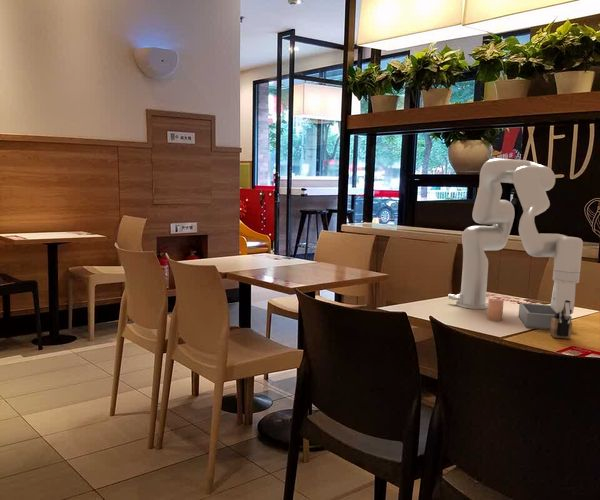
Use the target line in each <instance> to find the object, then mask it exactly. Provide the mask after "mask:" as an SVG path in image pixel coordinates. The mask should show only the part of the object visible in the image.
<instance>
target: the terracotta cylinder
mask: <svg viewBox="0 0 600 500" xmlns="http://www.w3.org/2000/svg"><path fill="white" fill-rule="evenodd" d="M504 302H505V301H504V300H503V299H499V298H488V302H487V303H488V309H487V317H486V318H487V320H488V321H491V322H502V321H503V315H504V312H503V311H504Z"/></svg>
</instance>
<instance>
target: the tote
mask: <svg viewBox="0 0 600 500" xmlns="http://www.w3.org/2000/svg"><path fill="white" fill-rule="evenodd" d="M554 315H555V311H554V310H553V309H552V308H551V304H550V305H549V304H538V303H537V304H536V303H525V302H520V303H519V305H518V318H519V319H520V321H521V322H522V324H523V325H524V326H525V328H526V329H537V330H546V331H550V328H551V318H554ZM570 322H571V323H572V315H570Z"/></svg>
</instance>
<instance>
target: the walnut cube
mask: <svg viewBox="0 0 600 500" xmlns="http://www.w3.org/2000/svg"><path fill="white" fill-rule="evenodd" d="M558 323H559V319H558V318H551V328H550V330H549V331H550V332H549V334H550V335H551V336H552V338H557V339H567V340H568V339H569V340H571V337H572V327H573V322H572V321H571V322H570V323H569V333H568V336H558V335H557V327H558Z"/></svg>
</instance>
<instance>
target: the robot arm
mask: <svg viewBox="0 0 600 500" xmlns="http://www.w3.org/2000/svg"><path fill="white" fill-rule="evenodd" d="M501 183H502V184H503V183H505V184H507V183H508V184H513V186H514V188H515V190H516V194H517V197H518V200H519V202H520V205H521V207H522V211H523V212H522V214H521V216H520V219H519V224H518V235H519V238H520V241H521V244H522V247H523V248H524V251H525V252H526V253H527V254H528V255H529V256H531V257H535V258H554V259H553V270H552V271H553V272H552V281H554V282H553V288H552V293H551V300H550V305H551V308H552V309H553V310H554V311H555V315H554V318H558V319H559V323H558V327H557V335H558V336H568V333H569V323H570V316H572V314H573V313H574V310H575V309H574V308H575V302H576V301H575V299H576V284H578V283H580V276H581V275H580V274H581V266H582V255H583V247H584V241H583V240H582V238H580V237H575V236H568V235H565V234H560V233H539V231H538V229H537V226H536V223H535V217H536V216H539V215H540V214H542V213H544V212H546V211H547V209H549V208H550V206H551V203H550V200H549V196H548V194H547V191H550V190H551V189H553V188H554V186H555V184H556V175H555V173H554V171H553V169H552V168H550V167H548V166H546V165H542V164H539V163H537V162H533V161H530V160H526V159H525V160H524V159H510V158H491V159H489V160H486V161H485V162H484V164H482V167H481V169H480V173H479V185H478V190H477V192H476V193H477V194H476V198H475V201H474V205H473V208H472V220H473V221H474V222H475V223H477V224H479V225H472V226H467V227H466V228H465V229H464V230H463V232H462V234H461V244H462V269H461V270H462V272H461V273H462V274H461V286H460V292H459V293H457V294H451V293H449V294H448V300H452V301H456V302H455V305H456V306H458V307H460V308H465V309H470V310H486V309H487V310H488V302H486V301H487V300H486V299H487V298H486V297H487V290H488V289H487V288H488V287H487V286H488V274H489V259H488V257H487V254H486V252H487V251H500V250H502V249H504V248H505V247H506V245H507V243H508V240H509V237H510V234H511V230H512V228H513V223H514V219H515V207H514V205H513V204H512V202H511V201H509V200H507V199H501V197H502V194H503V188H502V185H501ZM488 225H489V226H488ZM485 251H486V252H485Z"/></svg>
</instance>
